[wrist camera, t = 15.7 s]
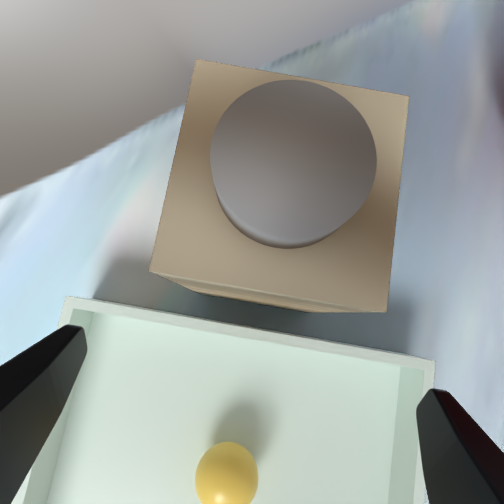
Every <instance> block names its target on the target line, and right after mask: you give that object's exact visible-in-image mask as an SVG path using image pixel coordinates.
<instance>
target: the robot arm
mask: <svg viewBox="0 0 504 504" xmlns="http://www.w3.org/2000/svg"><path fill="white" fill-rule="evenodd" d="M86 354H87V341H86V336H85V330H84V328H83V327H82V326H77V325H72V324H67V325H64V326H62V327H61V328H59V329H58V330H56V331H54V332H53V333H51V334H50V335H48V336H47V337H45V338H43V339H42V340H40V341H39V342H37V343H36V344H34V345H33V346H31V347H29V348H28V349H26V350H25V351H23V352H22V353H20V354H18V355H17V356H15V357H14V358H12V359H11V360H9V361H7V362H6V363H4V364H3V365H1V366H0V504H11V503H12V501H13V499H14V498H15V496H16V494H17V492H18V490H19V489H20V487H21V485H22V483H23V482H24V480H25V478H26V476H27V474H28V473H29V471H30V469H31V467H32V465H33V464H34V462H35V460H36V458H37V456H38V455H39V453H40V451H41V449H42V447H43V446H44V444H45V442H46V440H47V438H48V437H49V435H50V433H51V431H52V429H53V428H54V426H55V424H56V422H57V420H58V419H59V417H60V415H61V413H62V411H63V408H64V406H65V404H66V402H67V399H68V397H69V395H70V392H71V390H72V388H73V385H74V383H75V381H76V378H77V376H78V374H79V371H80V369H81V367H82V364H83V362H84V360H85V357H86ZM416 420H417V428H418V436H419V445H420V453H421V461H422V469H423V475H424V481H425V486H426V490H427V495H428V499H429V503H430V504H504V453H503V452H502V451H501V450H500V449H499V447H498V446H497V445H496V444H495V443H494V442H493V441H492V440H491V439H490V437H489V436H488V435H487V434H486V433H485V432H484V431H483V430H482V429H481V427H480V426H479V425H478V424H477V423H476V422H475V421H474V420H473V418H472V417H471V416H470V415H469V414H468V413H467V412H466V411H465V410H464V408H463V407H462V406H461V405H460V404H459V403H458V402H457V401H456V399H455V398H454V397H453V396H452V395H451V394H450V393H449V392H447V391H445V390H440V389H435V388H431V389H429V390H428V391H427V393H426V394H425V395H424V397H423V398H422V400H421V401H420V402H419V404H418V405H417V408H416Z"/></svg>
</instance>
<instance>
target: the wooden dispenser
mask: <svg viewBox="0 0 504 504" xmlns="http://www.w3.org/2000/svg"><path fill="white" fill-rule="evenodd" d="M408 103H409V96H406V95H400V94H394V93H388V92H383V91H377V90H371V89H366V88H360V87H354V86H348V85H343V84H337V83H331V82H326V81H320V80H314V79H308V78H303V77H297V76H291V75H286V74H280V73H274V72H268V71H263V70H257V69H251V68H245V67H240V66H234V65H228V64H223V63H217V62H211V61H206V60H200V59H196V62H195V66H194V71H193V75H192V79H191V84H190V88H189V93H188V97H187V102H186V106H185V111H184V115H183V120H182V124H181V129H180V133H179V138H178V142H177V146H176V151H175V155H174V160H173V164H172V169H171V173H170V178H169V182H168V187H167V191H166V196H165V200H164V205H163V209H162V214H161V218H160V223H159V227H158V231H157V236H156V240H155V245H154V249H153V254H152V258H151V263H150V267H149V271H150V272H152V273H155V274H157V275H159V276H161V277H163V278H166V279H168V280H170V281H172V282H174V283H177V284H179V285H181V286H183V287H186V288H188V289H190V290H192V291H194V292H197V293H200V294H206V295H211V296H217V297H223V298H229V299H234V300H240V301H246V302H251V303H257V304H263V305H269V306H274V307H280V308H286V309H292V310H297V311H303V312H387V303H388V294H389V284H390V275H391V265H392V256H393V246H394V237H395V227H396V218H397V208H398V198H399V189H400V179H401V170H402V160H403V151H404V141H405V132H406V122H407V113H408Z"/></svg>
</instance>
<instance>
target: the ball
mask: <svg viewBox="0 0 504 504" xmlns="http://www.w3.org/2000/svg"><path fill="white" fill-rule="evenodd" d="M258 479H259V476H258V468H257V465H256V462H255V460H254V458H253V456H252V455H251V453H250V452H249V451H248V450H247V449H246V448H245V447H243V446H242V445H240V444H238V443H234V442H221V443H218V444H216V445H214V446H212V447H211V448H209V449H208V450H207V451H206V452H205V453H204V455H203V456H202V458H201V459H200V461H199V463H198V466H197V469H196V473H195V489H196V493H197V496H198V498H199V500H200V502H201V504H250V503H251V502H252V500H253V499H254V497H255V494H256V492H257V487H258Z"/></svg>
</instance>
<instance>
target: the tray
mask: <svg viewBox="0 0 504 504" xmlns="http://www.w3.org/2000/svg"><path fill="white" fill-rule="evenodd" d="M67 324H72V325H77V326H82V327H83V328H84V330H85V336H86V341H87V354H86V357H85V360H84V362H83V364H82V367H81V369H80V371H79V374H78V376H77V378H76V381H75V383H74V385H73V388H72V390H71V392H70V395H69V397H68V399H67V402H66V404H65V406H64V408H63V411H62V413H61V415H60V417H59V419H58V420H57V422H56V424H55V426H54V428H53V429H52V431H51V433H50V435H49V437H48V438H47V440H46V442H45V444H44V446H43V447H42V449H41V451H40V453H39V455H38V456H37V458H36V460H35V462H34V464H33V465H32V467H31V469H30V471H29V473H28V474H27V476H26V478H25V480H24V482H23V483H22V485H21V487H20V489H19V490H18V492H17V494H16V496H15V498H14V499H13V501H12V503H11V504H201V502H200V500H199V498H198V496H197V493H196V489H195V473H196V469H197V466H198V463H199V461H200V459H201V458H202V456H203V455H204V453H205V452H206V451H207V450H208V449H209V448H211V447H212V446H214V445H216V444H218V443H221V442H234V443H238V444H240V445H242V446H243V447H245V448H246V449H247V450H248V451H249V452H250V453H251V455H252V456H253V458H254V460H255V462H256V465H257V468H258V476H259V479H258V487H257V492H256V494H255V497H254V499H253V500H252V502H251V503H250V504H424V500H425V487H426V486H425V481H424V475H423V469H422V461H421V453H420V445H419V436H418V428H417V420H416V408H417V405H418V404H419V402H420V401H421V400H422V398H423V397H424V395H425V394H426V393H427V391H428V390H429V389H431V388H434V375H435V363H436V361H433V360H429V359H425V358H421V357H417V356H413V355H409V354H404V353H398V352H392V351H387V350H381V349H375V348H370V347H364V346H358V345H353V344H347V343H341V342H336V341H330V340H324V339H319V338H313V337H307V336H302V335H296V334H290V333H285V332H279V331H273V330H268V329H262V328H256V327H251V326H245V325H239V324H234V323H228V322H222V321H217V320H211V319H205V318H200V317H194V316H188V315H183V314H177V313H171V312H166V311H160V310H154V309H149V308H143V307H137V306H132V305H126V304H120V303H115V302H109V301H103V300H98V299H92V298H82V297H72V296H66V297H65V301H64V304H63V308H62V312H61V316H60V320H59V323H58V327H57V330H58V329H59V328H61V327H62V326H64V325H67Z"/></svg>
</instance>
